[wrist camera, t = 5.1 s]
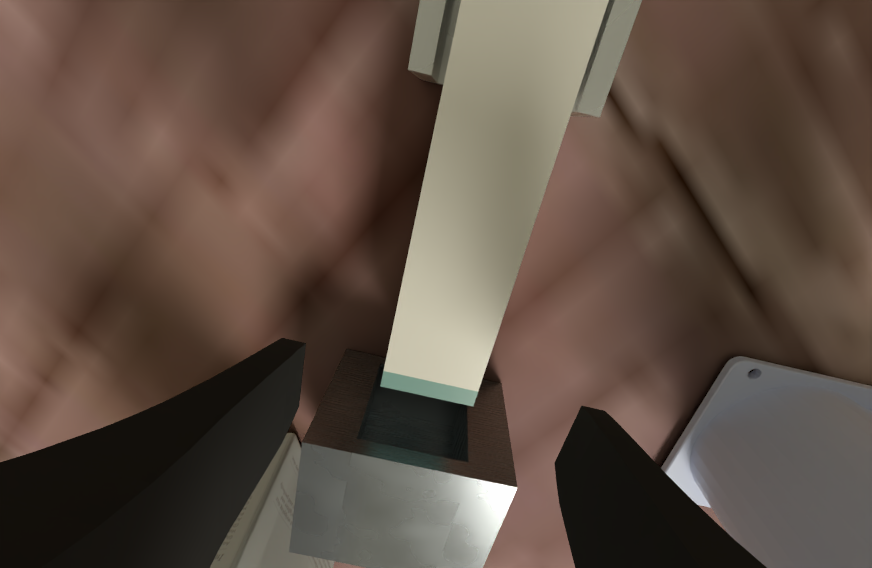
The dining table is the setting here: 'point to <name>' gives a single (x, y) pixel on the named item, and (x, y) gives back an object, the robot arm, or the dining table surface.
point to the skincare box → (268, 519)
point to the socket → (401, 474)
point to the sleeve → (606, 54)
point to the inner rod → (485, 185)
